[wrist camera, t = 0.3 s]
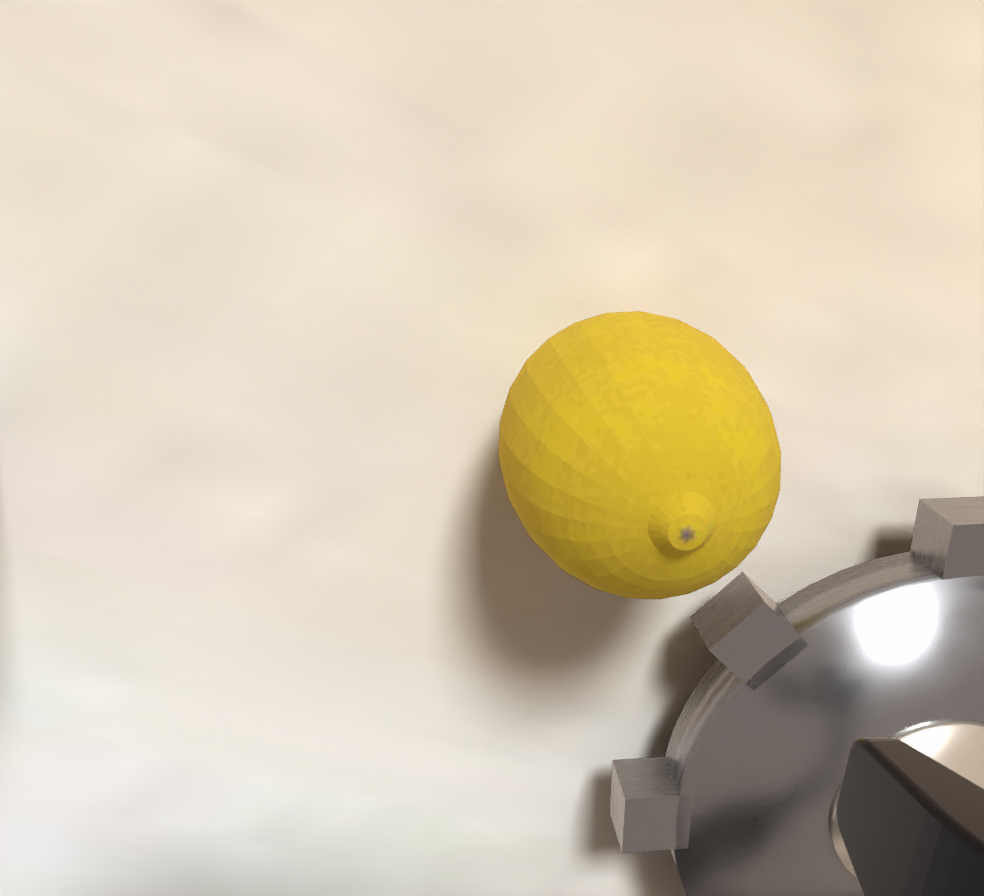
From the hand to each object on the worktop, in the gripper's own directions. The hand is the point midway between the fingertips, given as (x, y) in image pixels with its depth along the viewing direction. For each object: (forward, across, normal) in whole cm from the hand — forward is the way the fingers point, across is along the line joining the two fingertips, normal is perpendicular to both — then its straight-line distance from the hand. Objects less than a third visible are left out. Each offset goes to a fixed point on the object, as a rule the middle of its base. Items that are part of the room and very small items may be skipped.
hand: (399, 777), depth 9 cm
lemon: (+14, -5, 0) cm, 15 cm away
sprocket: (+13, -15, +11) cm, 22 cm away
